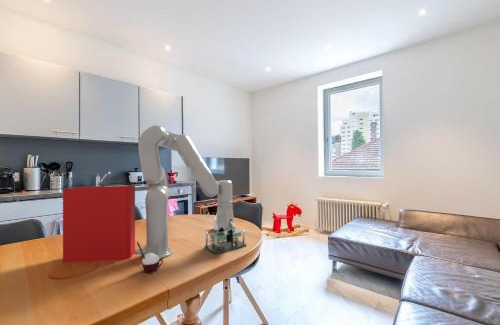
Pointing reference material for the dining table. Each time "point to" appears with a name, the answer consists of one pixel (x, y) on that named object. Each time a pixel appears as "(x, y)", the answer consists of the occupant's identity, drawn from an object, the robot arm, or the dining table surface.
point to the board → (224, 235)
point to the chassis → (224, 245)
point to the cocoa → (150, 261)
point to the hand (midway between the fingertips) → (225, 239)
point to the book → (98, 223)
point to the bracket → (216, 224)
